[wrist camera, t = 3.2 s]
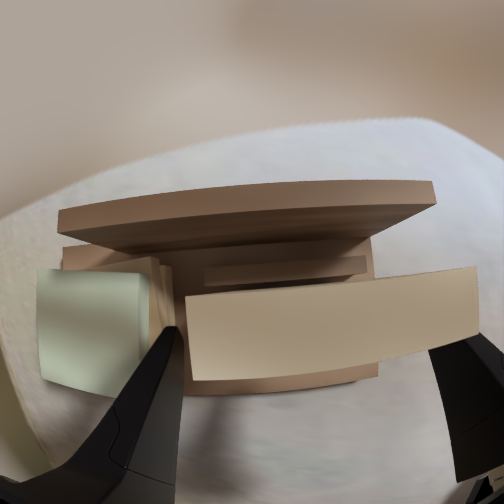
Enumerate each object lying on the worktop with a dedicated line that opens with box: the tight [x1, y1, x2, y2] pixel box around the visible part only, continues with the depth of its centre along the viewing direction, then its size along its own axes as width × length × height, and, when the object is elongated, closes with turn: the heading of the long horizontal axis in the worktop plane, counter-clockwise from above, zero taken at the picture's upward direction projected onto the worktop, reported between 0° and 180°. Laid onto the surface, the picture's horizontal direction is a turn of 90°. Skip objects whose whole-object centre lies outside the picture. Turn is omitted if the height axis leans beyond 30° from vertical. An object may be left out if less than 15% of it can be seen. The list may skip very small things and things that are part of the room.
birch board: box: [185, 266, 479, 380], centre depth 11 cm, size 2×6×13 cm, turn 94°
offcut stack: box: [36, 256, 176, 398], centre depth 15 cm, size 8×8×4 cm
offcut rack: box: [57, 180, 437, 395], centre depth 14 cm, size 10×22×10 cm, turn 94°
